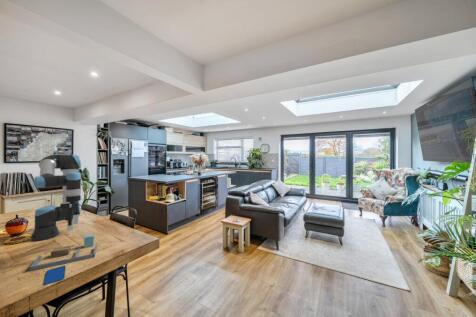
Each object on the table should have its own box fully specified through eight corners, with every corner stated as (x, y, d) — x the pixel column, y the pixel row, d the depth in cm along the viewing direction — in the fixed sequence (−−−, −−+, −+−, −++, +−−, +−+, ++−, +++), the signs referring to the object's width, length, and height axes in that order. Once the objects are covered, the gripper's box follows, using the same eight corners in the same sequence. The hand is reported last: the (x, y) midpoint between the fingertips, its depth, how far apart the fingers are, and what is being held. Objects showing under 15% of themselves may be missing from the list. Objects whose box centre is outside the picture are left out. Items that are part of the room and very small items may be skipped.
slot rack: (38, 259, 111) (38, 256, 111) (97, 247, 126) (97, 244, 126) (28, 271, 99) (28, 267, 99) (94, 257, 114) (94, 253, 114)
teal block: (85, 245, 130) (85, 235, 130) (94, 243, 133) (94, 233, 133) (84, 248, 126) (84, 237, 126) (93, 246, 129) (93, 236, 129)
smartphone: (42, 285, 88) (46, 270, 99) (43, 287, 88) (46, 272, 99) (64, 278, 93) (65, 265, 104) (64, 280, 93) (65, 266, 104)
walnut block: (50, 258, 113) (53, 254, 117) (68, 255, 117) (70, 251, 121) (50, 251, 113) (53, 248, 117) (68, 248, 117) (70, 245, 121)
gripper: (71, 193, 134) (71, 222, 134) (59, 199, 113) (59, 234, 112) (84, 192, 138) (84, 221, 137) (75, 197, 116) (75, 231, 116)
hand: (73, 227), depth 125 cm, fingers open, 13 cm apart
